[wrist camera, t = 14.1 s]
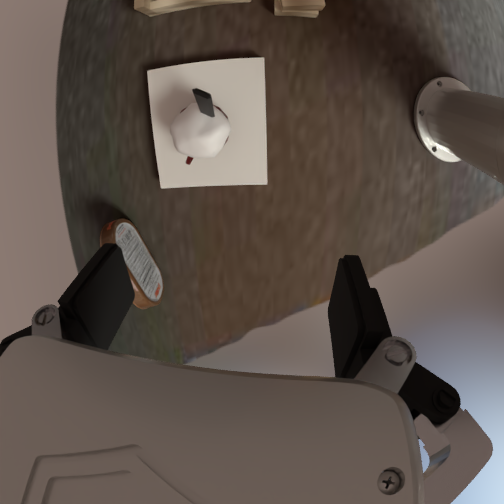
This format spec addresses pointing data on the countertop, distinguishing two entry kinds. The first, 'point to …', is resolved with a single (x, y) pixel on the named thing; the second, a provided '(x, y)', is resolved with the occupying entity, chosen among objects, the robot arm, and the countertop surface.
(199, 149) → the cocoa
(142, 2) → the frame
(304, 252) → the countertop surface
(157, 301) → the tin
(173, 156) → the cutting board
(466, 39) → the countertop surface
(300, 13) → the offcut lower
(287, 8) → the offcut upper
